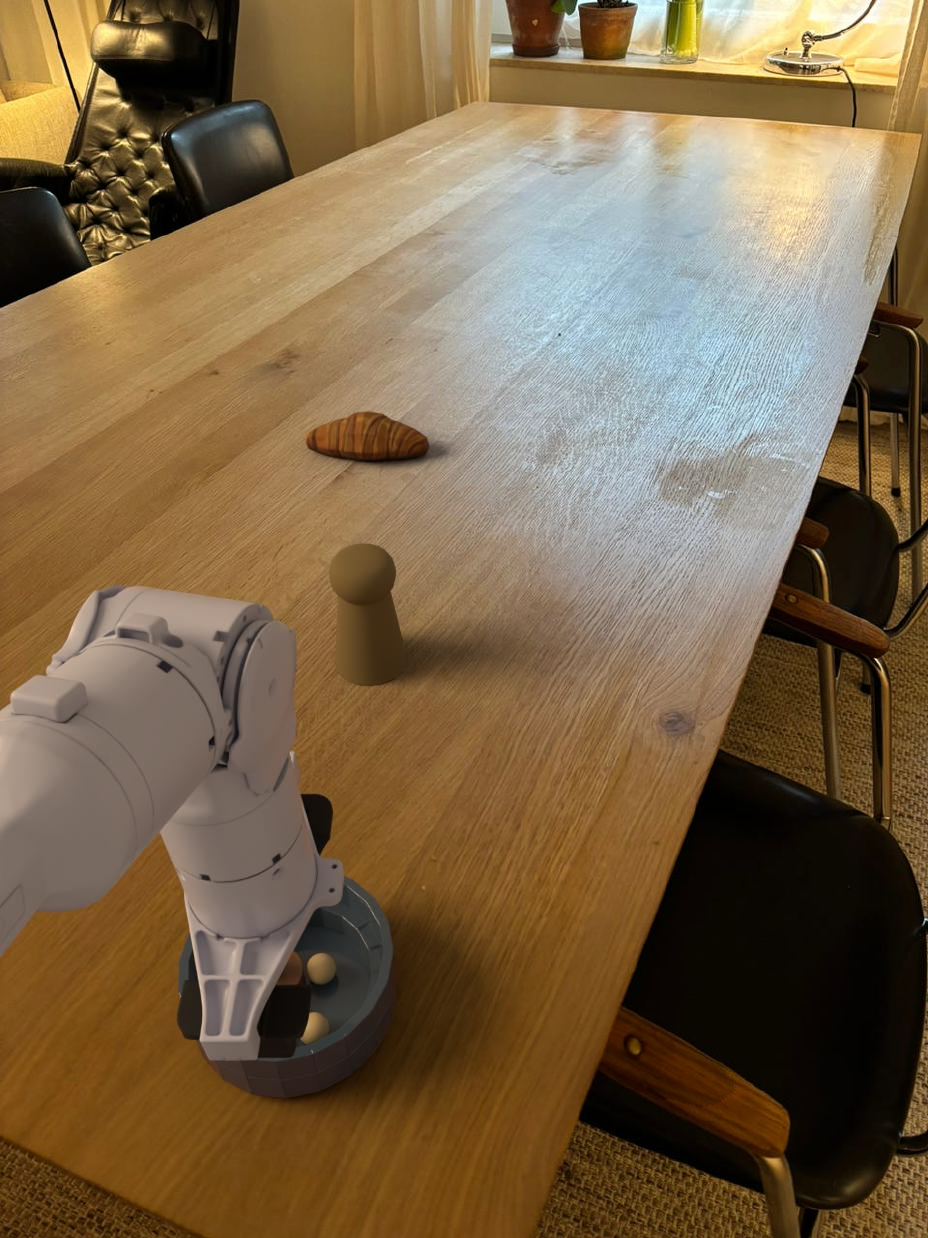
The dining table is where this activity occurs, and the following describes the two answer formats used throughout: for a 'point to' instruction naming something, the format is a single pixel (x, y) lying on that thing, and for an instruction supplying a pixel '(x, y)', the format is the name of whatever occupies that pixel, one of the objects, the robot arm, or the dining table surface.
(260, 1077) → the bowl
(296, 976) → the wooden pestle
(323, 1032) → the chickpea
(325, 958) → the chickpea
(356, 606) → the brown game pawn
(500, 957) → the dining table surface
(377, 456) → the croissant
